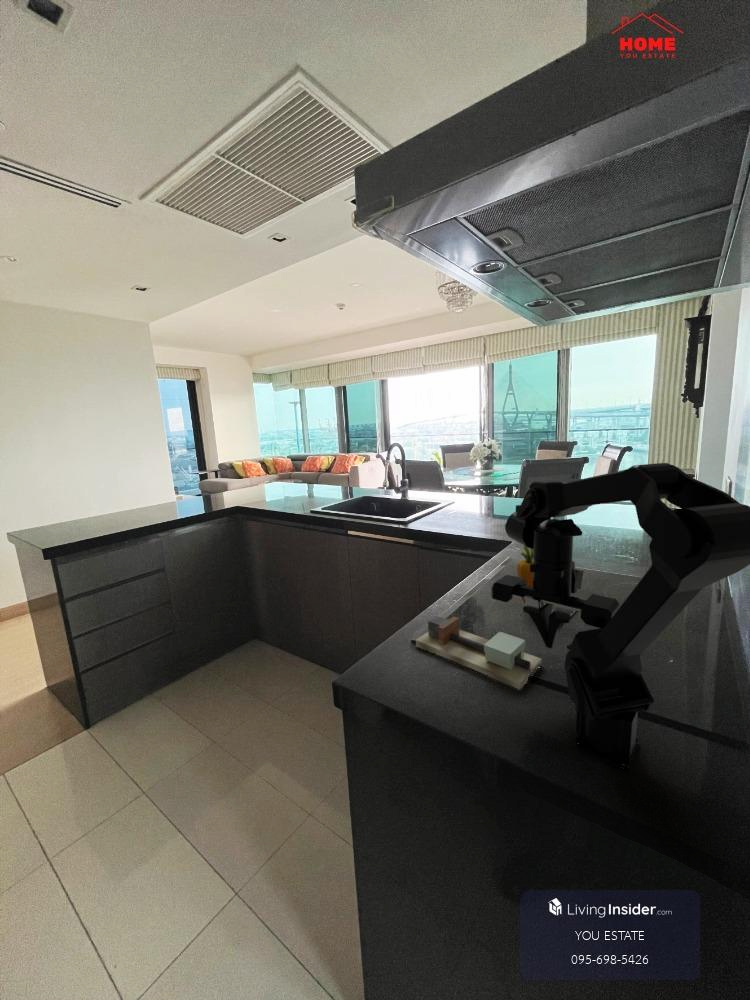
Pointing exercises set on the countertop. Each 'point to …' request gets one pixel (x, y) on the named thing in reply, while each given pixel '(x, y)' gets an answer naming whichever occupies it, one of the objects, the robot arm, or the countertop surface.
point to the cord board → (472, 652)
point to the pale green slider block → (504, 650)
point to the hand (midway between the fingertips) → (550, 647)
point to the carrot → (526, 568)
